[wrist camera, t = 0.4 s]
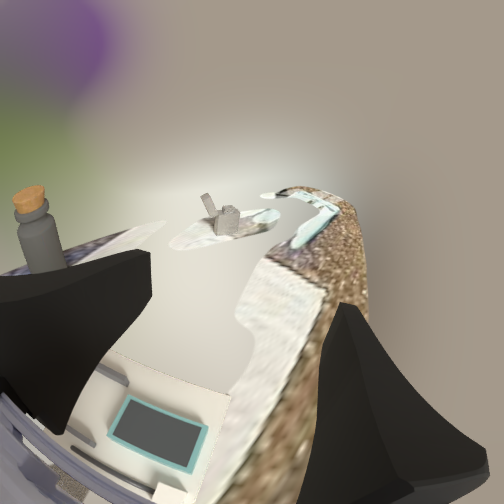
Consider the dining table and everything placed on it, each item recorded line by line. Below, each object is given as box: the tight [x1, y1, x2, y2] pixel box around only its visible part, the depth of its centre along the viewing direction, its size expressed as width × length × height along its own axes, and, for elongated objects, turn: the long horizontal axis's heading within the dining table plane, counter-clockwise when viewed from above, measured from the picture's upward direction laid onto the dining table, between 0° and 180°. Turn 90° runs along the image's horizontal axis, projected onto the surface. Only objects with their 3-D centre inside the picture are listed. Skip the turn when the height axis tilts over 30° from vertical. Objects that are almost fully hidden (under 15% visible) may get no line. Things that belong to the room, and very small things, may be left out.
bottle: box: [12, 185, 68, 274], centre depth 28 cm, size 6×6×15 cm
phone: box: [106, 394, 209, 475], centre depth 19 cm, size 8×5×2 cm, turn 76°
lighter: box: [201, 193, 240, 236], centre depth 47 cm, size 7×2×8 cm, turn 115°
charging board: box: [43, 349, 231, 504], centre depth 19 cm, size 16×14×2 cm
